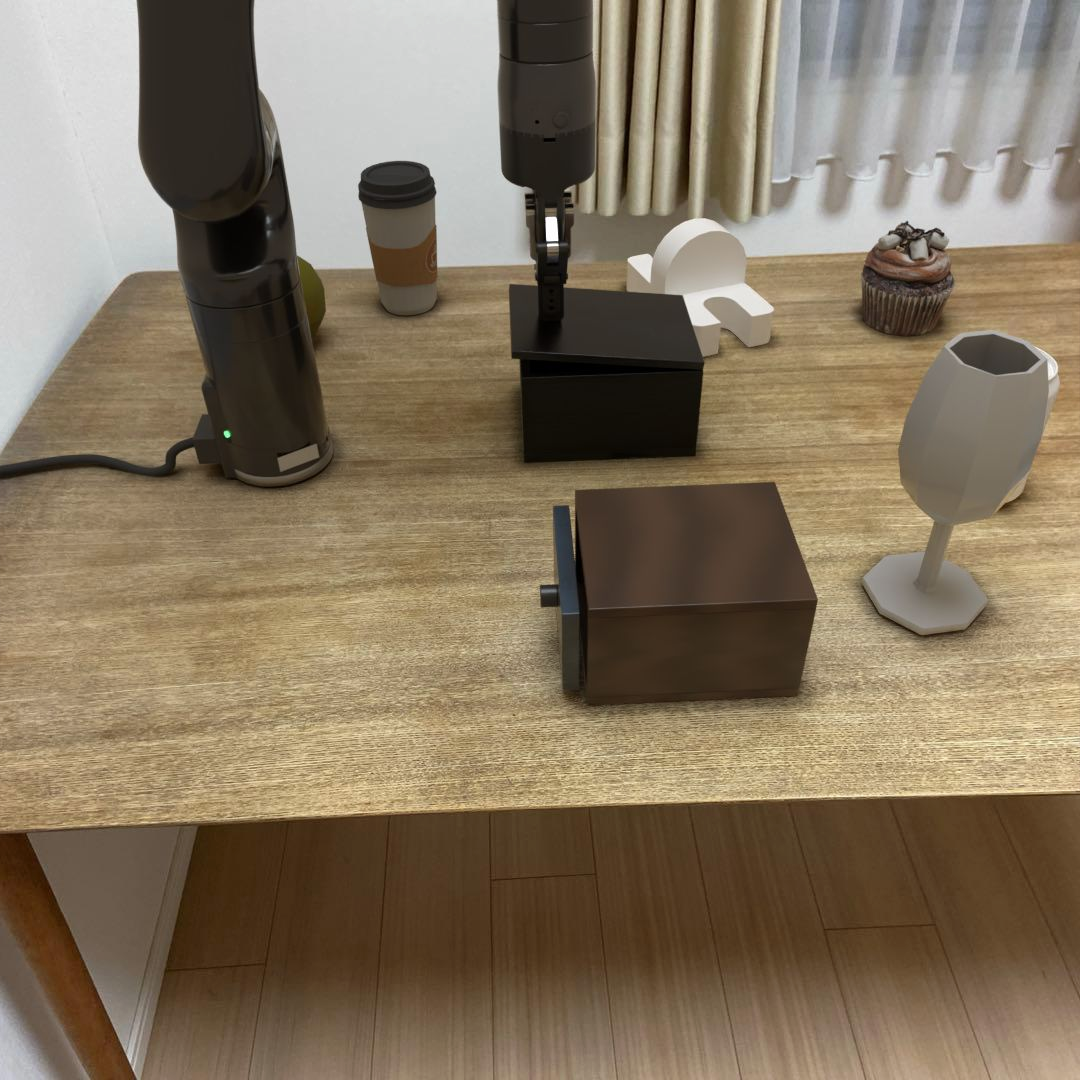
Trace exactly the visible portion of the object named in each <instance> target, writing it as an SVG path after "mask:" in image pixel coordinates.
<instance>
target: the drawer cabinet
mask: <svg viewBox="0 0 1080 1080" xmlns="http://www.w3.org/2000/svg"><path fill="white" fill-rule="evenodd" d="M574 558H575V568H576V578H577V588H578V597H579V607H580V651H581V660H582V669H583V679H584V688H585V700H586V705H587V706H598V705H600V706H601V705H621V704H640V703H641V704H643V703H645V704H646V703H666V702H688V701H708V700H709V701H711V700H731V699H753V698H776V697H797V696H799V693H800V689H801V683H802V678H803V674H804V669H805V664H806V659H807V654H808V651H809V645H810V640H811V636H812V631H813V627H814V622H815V617H816V612H817V607H818V603H819V598H818V595H817V593H816V590H815V588H814V587H815V586H814V584H813V582H812V580H811V579H812V578H811V576H810V573H809V571H808V568H807V566H806V563H805V560H804V558H803V555H802V552H801V549H800V547H799V544H798V541H797V538H796V535H795V533H794V529H793V527H792V524H791V522H790V519H789V517H788V513H787V512H786V508H785V506H784V503H783V500H782V498H781V495H780V491H779V489H778V487H777V484H776V482H775V481H760V482H759V481H757V482H739V483H737V482H736V483H735V482H734V483H713V484H711V483H709V484H687V485H665V486H664V485H663V486H661V485H660V486H638V487H615V488H613V487H612V488H611V487H610V488H589V489H587V488H586V489H575V491H574Z"/></svg>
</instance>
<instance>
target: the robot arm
mask: <svg viewBox="0 0 1080 1080" xmlns="http://www.w3.org/2000/svg"><path fill="white" fill-rule="evenodd" d="M255 2H256V1H255V0H136V10H137V11H136V13H137V26H138V27H137V29H138V87H139V88H138V118H137V119H138V122H137V127H138V128H137V130H138V131H137V148H138V155H139V160H140V164H141V167H142V170H143V172H144V174H145V176H146V178H147V180H148V182H149V183H150V185H151V187H152V189H153V190H154V192H155V193H156V194H157V196H158V197H159V198H160V199H161V200H162V201H163V202H164V203H165V204H166V205H167V206H168V207H169V208H171V211H172V216H173V220H174V229H175V235H176V236H175V240H176V262H177V269H178V274H179V278H180V281H181V284H182V285H181V286H182V289H183V293H184V295H185V300H186V303H187V308H188V311H189V315H190V319H191V322H192V326H193V329H194V333H195V338H196V341H197V345H198V348H199V352H200V356H201V360H202V363H203V367H204V372H205V375H204V378H203V380H202V382H201V393H202V396H203V401H204V404H205V407H206V411H207V413H204V414H201V416H200V418H199V421H198V424H197V426H196V429H195V430H194V431H195V432H194V434H193V436H192V437H189V438H185V439H183V440H180V441H178V442H175V444H173V445H172V446H171V447H170V448H169V449H168V450H167V451H166V454H165V459H164V461H165V463H164V464H162V465H160V466H157V467H143V466H139V465H137V464H134V463H130V462H129V461H128V462H127V461H125V460H123V459H119V458H116V457H111V456H108V455H103V454H92V453H87V454H86V453H83V454H82V453H81V454H66V455H65V454H64V455H58V456H50V457H43V458H38V459H37V458H36V459H32V460H24V461H20V462H14V463H9V464H1V465H0V477H2V476H8V475H13V474H19V473H23V472H30V471H36V470H42V469H47V468H53V467H62V466H71V465H72V466H73V465H89V464H90V465H101V466H105V467H110V468H113V469H116V470H120V471H122V472H126V473H131V474H134V475H140V476H146V477H156V478H157V477H164V476H166V475H168V474H171V473H172V472H173V471H174V469H176V466H177V456H178V455H179V454H181V453H182V452H184V451H186V450H189V449H192V448H194V451H195V455H196V458H197V462H198V464H199V465H211V464H213V465H216V464H221V466H222V470H223V474H224V478H225V479H238V480H240V481H241V482H244V483H246V484H249V485H252V486H258V487H282V486H288V485H292V484H296V483H299V482H302V481H305V480H307V479H309V478H311V477H313V476H315V475H316V474H318V473H320V472H321V471H322V470H324V469H325V467H326V466H327V465H328V464H329V463H330V461H331V459H332V458H333V454H334V446H333V441H332V435H331V433H330V428H329V424H328V419H327V415H326V414H327V413H326V408H325V402H324V398H323V392H322V386H321V381H320V375H319V371H318V365H317V360H316V354H315V350H314V349H315V348H314V343H313V339H312V338H311V332H310V327H309V321H308V316H307V311H306V305H305V300H304V295H303V289H302V284H301V278H300V272H299V266H298V260H297V255H298V252H297V243H296V242H297V240H296V231H295V229H296V228H295V221H294V215H293V210H292V209H293V208H292V204H291V197H290V191H289V185H288V179H287V173H286V168H285V162H284V155H283V151H282V145H281V144H282V143H281V139H280V133H279V129H278V125H277V121H276V117H275V114H274V112H273V109H272V106H271V105H270V102H269V100H268V99H267V97H266V95H265V94H264V92H263V91H262V90H261V88H260V84H259V75H258V65H257V53H256V41H255ZM496 13H497V14H496V16H497V17H496V19H497V37H498V38H497V39H498V41H497V42H498V51H499V52H498V70H497V82H496V83H497V86H496V87H497V105H498V106H497V108H498V109H497V111H498V129H499V149H500V150H499V151H500V168H501V173H502V176H503V177H504V178H505V180H506V181H508V182H509V183H510V184H513V185H514V186H517V187H520V188H529V189H531V192H524V193H523V195H524V213H525V225H526V228H527V229H528V244H529V254H530V256H529V257H530V258H531V259H532V260H533V261H534V262H535V263H533V270H534V271H535V272H534V280H535V282H536V284H537V285H536V286H538V311H539V318H540V320H542V321H558V320H561V319H563V317H564V287H565V285H566V284H567V280H569V273H568V264H569V258H570V257H571V255H572V228H573V227H574V225H575V203H574V202H573V191H572V190H568V189H569V188H570V187H573V186H578V185H581V184H583V183H585V182H587V181H588V180H589V179H590V178H591V177H592V176H593V174H594V173H595V170H596V119H597V117H596V111H597V110H596V109H597V108H596V107H597V106H596V104H597V103H596V101H597V81H596V80H597V79H596V71H595V62H594V50H593V49H594V0H496Z"/></svg>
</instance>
